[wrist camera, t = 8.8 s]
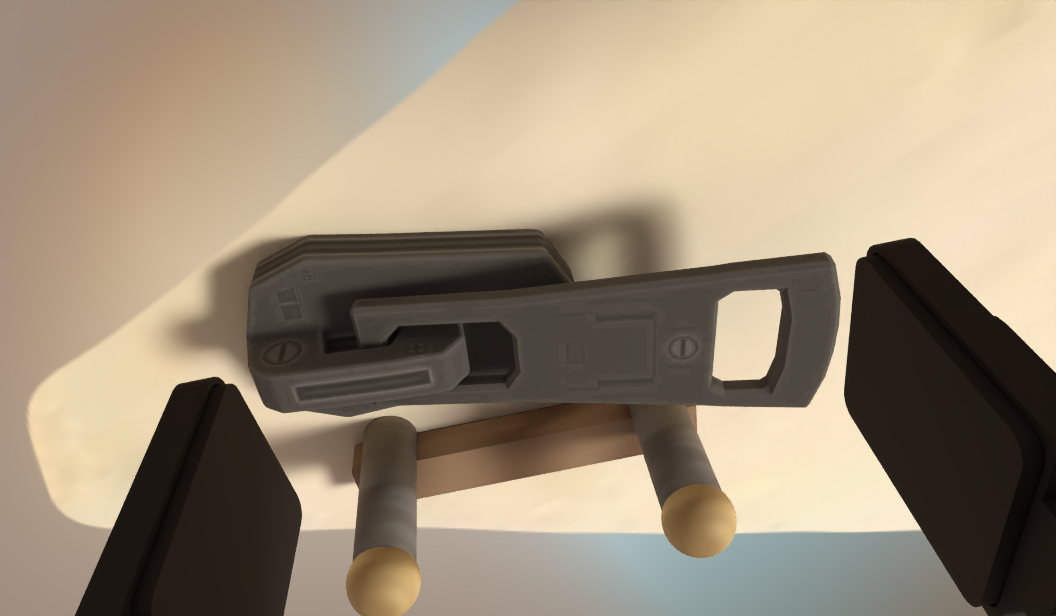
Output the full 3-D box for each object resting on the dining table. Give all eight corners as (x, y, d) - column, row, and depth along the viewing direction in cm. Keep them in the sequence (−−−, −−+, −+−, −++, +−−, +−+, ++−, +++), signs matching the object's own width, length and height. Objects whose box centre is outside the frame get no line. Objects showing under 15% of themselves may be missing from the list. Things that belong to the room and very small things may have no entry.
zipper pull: (824, 418, 34) (263, 498, 33) (768, 331, 39) (285, 396, 38) (859, 248, 29) (194, 335, 27) (789, 173, 34) (231, 244, 33)
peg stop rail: (683, 354, 39) (757, 516, 31) (686, 417, 42) (755, 582, 33) (344, 421, 39) (323, 602, 31) (369, 480, 42) (355, 661, 33)
